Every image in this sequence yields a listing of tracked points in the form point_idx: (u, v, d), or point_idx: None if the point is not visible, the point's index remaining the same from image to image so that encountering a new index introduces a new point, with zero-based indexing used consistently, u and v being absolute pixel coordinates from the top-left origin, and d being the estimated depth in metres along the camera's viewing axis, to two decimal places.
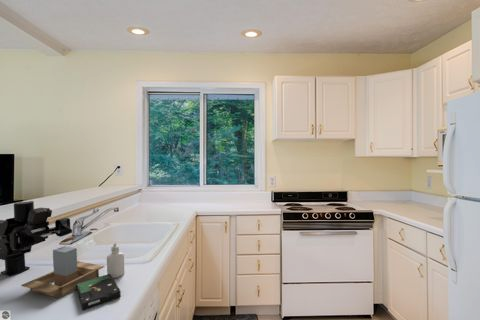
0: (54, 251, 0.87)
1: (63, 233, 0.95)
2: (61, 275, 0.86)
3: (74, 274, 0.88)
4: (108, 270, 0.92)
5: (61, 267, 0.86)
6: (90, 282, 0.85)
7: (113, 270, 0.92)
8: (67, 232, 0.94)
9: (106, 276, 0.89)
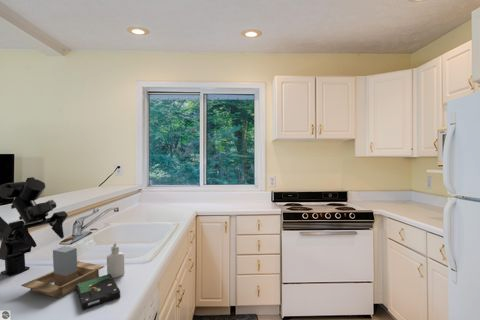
0: (54, 251, 0.87)
1: (55, 230, 0.97)
2: (61, 275, 0.86)
3: (74, 274, 0.88)
4: (108, 270, 0.92)
5: (61, 267, 0.86)
6: (90, 282, 0.85)
7: (113, 270, 0.92)
8: (58, 234, 0.96)
9: (106, 276, 0.89)
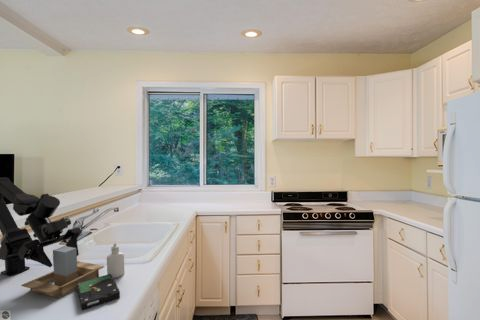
0: (54, 251, 0.87)
1: None
2: (61, 275, 0.86)
3: (74, 274, 0.88)
4: (108, 270, 0.92)
5: (61, 267, 0.86)
6: (91, 282, 0.85)
7: (113, 270, 0.92)
8: None
9: (107, 276, 0.89)
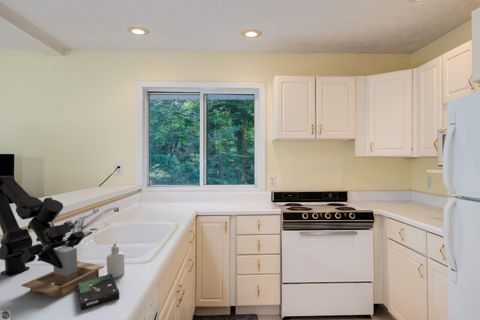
0: (54, 251, 0.87)
1: None
2: (61, 275, 0.86)
3: (74, 274, 0.88)
4: (108, 270, 0.92)
5: None
6: (91, 282, 0.85)
7: (113, 270, 0.92)
8: None
9: (107, 276, 0.89)
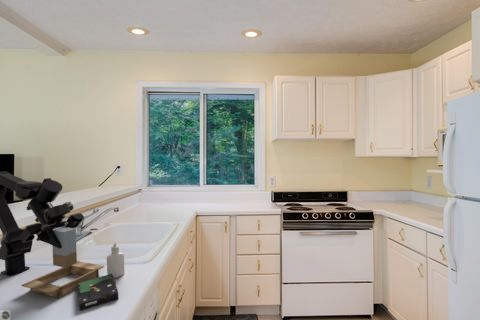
0: None
1: None
2: (60, 255, 0.86)
3: (73, 255, 0.88)
4: (108, 270, 0.92)
5: None
6: (91, 282, 0.85)
7: (113, 270, 0.92)
8: None
9: (108, 276, 0.89)
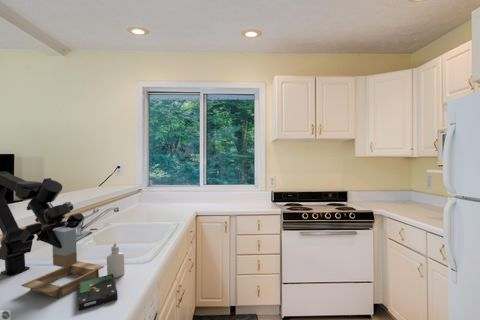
0: None
1: None
2: (60, 255, 0.86)
3: (73, 255, 0.88)
4: (108, 270, 0.92)
5: None
6: (92, 281, 0.85)
7: (113, 270, 0.92)
8: None
9: (109, 276, 0.89)
